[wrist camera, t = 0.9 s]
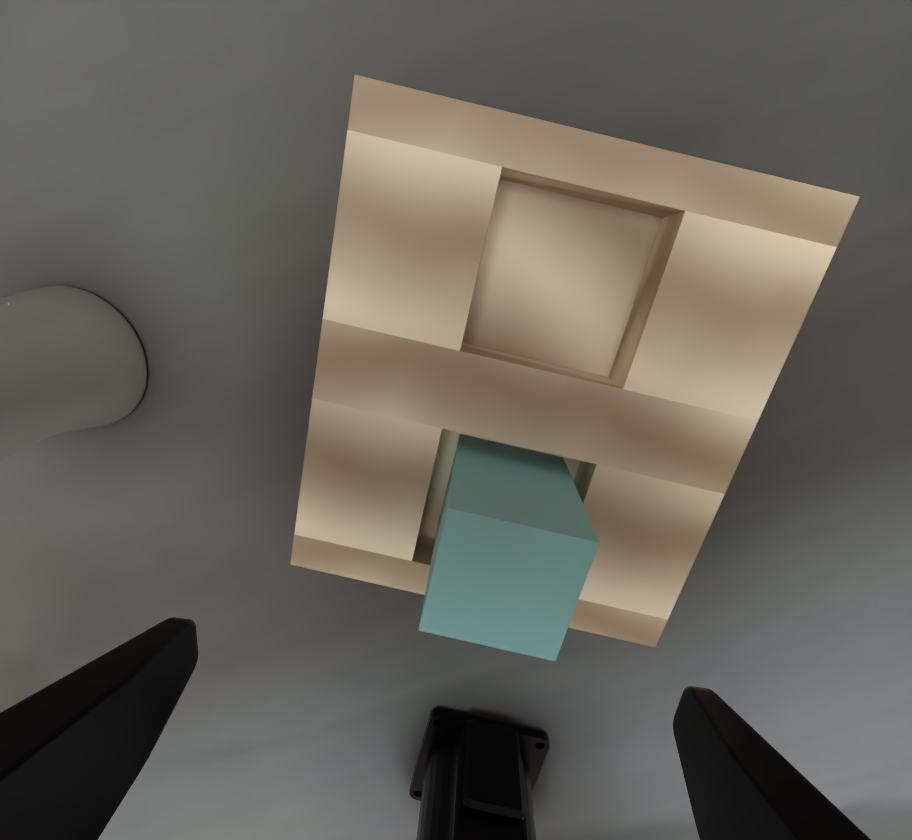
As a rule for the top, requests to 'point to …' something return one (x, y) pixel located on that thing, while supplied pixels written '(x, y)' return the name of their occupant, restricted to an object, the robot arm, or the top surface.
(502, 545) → the teal block
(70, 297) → the beer glass
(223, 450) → the top surface
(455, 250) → the pocket board
